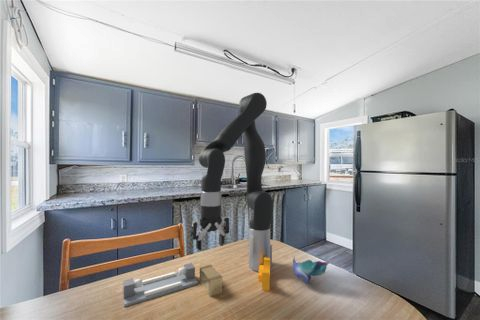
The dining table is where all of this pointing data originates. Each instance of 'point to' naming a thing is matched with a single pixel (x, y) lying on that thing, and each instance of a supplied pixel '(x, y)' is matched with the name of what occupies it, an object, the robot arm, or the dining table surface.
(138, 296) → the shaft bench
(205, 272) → the tan tapered block
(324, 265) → the figurine
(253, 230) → the robot arm
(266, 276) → the pipe clamp
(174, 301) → the dining table surface
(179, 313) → the dining table surface
